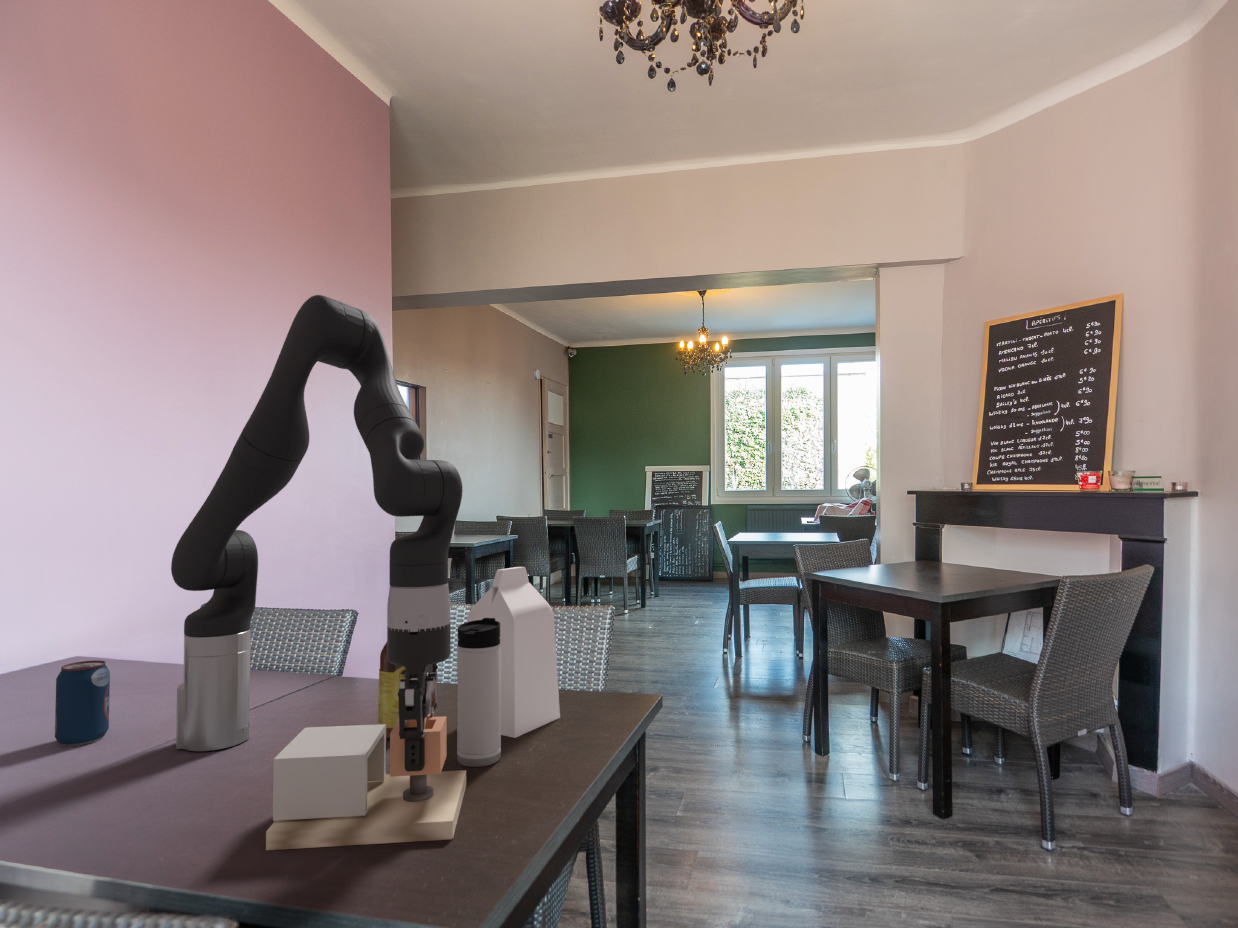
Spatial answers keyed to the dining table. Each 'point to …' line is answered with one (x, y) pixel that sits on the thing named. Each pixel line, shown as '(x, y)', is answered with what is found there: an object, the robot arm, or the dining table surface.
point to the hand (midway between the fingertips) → (419, 759)
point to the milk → (522, 651)
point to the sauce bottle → (389, 691)
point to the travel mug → (479, 693)
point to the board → (383, 815)
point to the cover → (328, 771)
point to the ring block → (433, 748)
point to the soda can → (82, 703)
